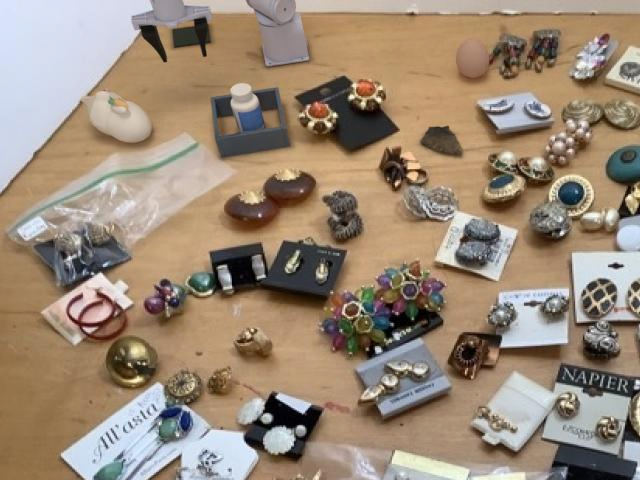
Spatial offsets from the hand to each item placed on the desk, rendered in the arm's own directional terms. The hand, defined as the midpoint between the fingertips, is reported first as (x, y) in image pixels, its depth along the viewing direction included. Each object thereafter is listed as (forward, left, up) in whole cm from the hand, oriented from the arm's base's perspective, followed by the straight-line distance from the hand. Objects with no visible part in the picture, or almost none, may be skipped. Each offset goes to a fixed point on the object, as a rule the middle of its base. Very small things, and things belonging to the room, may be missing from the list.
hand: (185, 56), depth 161 cm
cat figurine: (+15, +7, -10) cm, 20 cm away
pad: (0, -24, -10) cm, 26 cm away
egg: (-58, +6, -10) cm, 59 cm away
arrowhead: (-47, +27, -10) cm, 55 cm away
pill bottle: (-10, +13, -10) cm, 19 cm away
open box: (-10, +13, -10) cm, 19 cm away
